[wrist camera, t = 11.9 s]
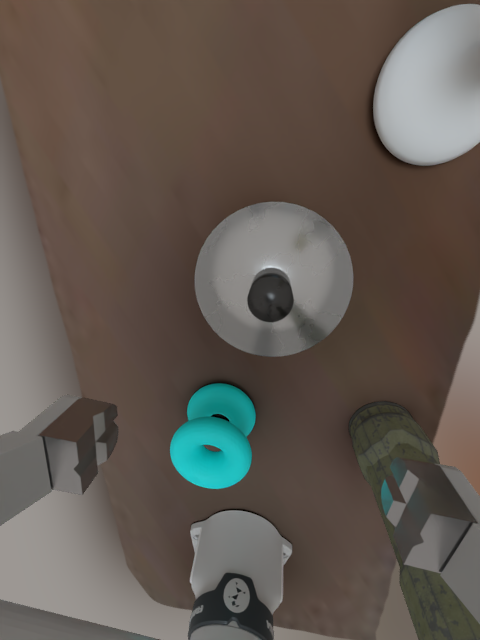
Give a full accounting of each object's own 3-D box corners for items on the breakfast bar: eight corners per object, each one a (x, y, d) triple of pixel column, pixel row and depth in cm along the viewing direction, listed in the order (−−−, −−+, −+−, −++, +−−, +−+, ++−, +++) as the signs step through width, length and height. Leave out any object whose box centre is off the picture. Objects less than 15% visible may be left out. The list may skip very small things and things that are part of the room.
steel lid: (331, 359, 26) (344, 392, 21) (195, 340, 27) (178, 368, 22) (367, 210, 21) (394, 209, 16) (201, 194, 22) (180, 189, 17)
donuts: (240, 425, 30) (258, 492, 33) (248, 375, 39) (262, 431, 42) (155, 433, 31) (180, 496, 35) (182, 383, 41) (200, 436, 44)
